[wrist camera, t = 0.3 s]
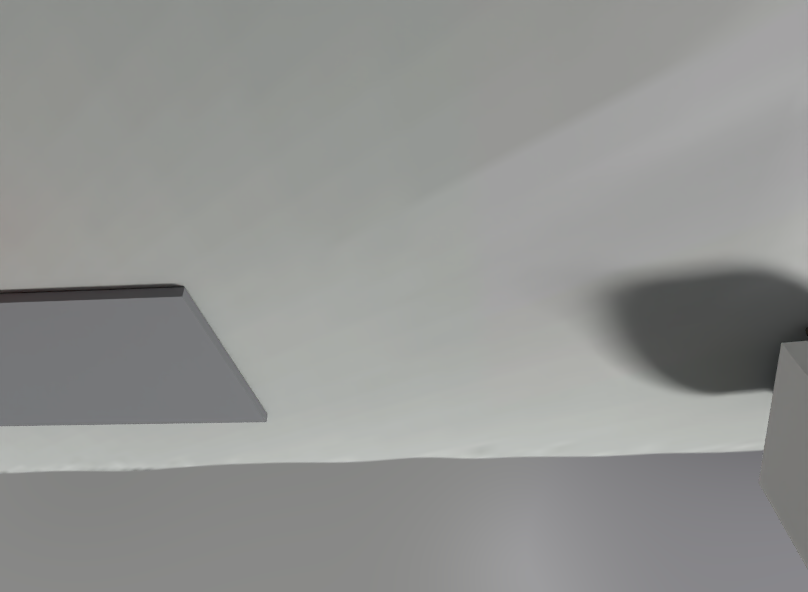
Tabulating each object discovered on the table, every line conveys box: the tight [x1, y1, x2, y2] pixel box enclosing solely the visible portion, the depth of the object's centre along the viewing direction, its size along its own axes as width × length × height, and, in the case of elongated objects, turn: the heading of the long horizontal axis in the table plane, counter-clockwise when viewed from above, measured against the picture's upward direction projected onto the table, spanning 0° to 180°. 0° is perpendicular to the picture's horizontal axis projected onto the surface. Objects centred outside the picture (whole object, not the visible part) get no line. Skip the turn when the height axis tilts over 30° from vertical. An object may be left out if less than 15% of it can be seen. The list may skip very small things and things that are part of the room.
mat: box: [0, 287, 267, 426], centre depth 41 cm, size 14×22×1 cm, turn 96°
